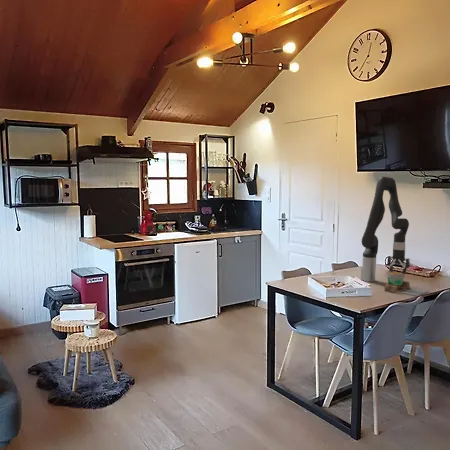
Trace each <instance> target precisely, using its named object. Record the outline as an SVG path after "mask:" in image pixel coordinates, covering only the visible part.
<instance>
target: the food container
mask: <svg viewBox="0 0 450 450" xmlns="http://www.w3.org/2000/svg"><path fill="white" fill-rule="evenodd" d="M386 278H387V284H388V285H394V286H397V291H401V290H403V287H402V285H403V281H404V279H405V274H403V272H402V273H401V274H389V273H387V275H386Z"/></svg>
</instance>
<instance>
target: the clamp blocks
mask: <svg viewBox="0 0 450 450" xmlns="http://www.w3.org/2000/svg"><path fill="white" fill-rule="evenodd" d="M410 286H411V284H410V281H406V280H403V285H402V289H409V288H410ZM410 289H411V288H410ZM384 292H387V293H393V294H396V293H397V292H398V290H397V286H394V285H388V283H387V284H384Z"/></svg>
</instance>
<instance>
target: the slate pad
mask: <svg viewBox="0 0 450 450" xmlns="http://www.w3.org/2000/svg"><path fill="white" fill-rule="evenodd" d="M427 293H429V290H423V289H417V288H414V287H413V288H410V289H407V290H404V291H402V292H401V295H402V294H404V295H407V296H411V297H419V296H423V295H424V294H427Z"/></svg>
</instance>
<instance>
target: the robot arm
mask: <svg viewBox="0 0 450 450" xmlns="http://www.w3.org/2000/svg"><path fill="white" fill-rule="evenodd" d="M397 189H398V188H397V183H396V180H395V179H394V178H393V177H388V176H380V177H379V178H378V180H377V182H376V186H375V192H374V197H373V201H372V204H371V208H370V213H369V216H368V220H367V223H366V227H365V230H364V233H363V236H362V238H361V245H362V247H363V248H365V250H364V251H363V252H362V265H361V266H360V267H361V268H360V281H363V280H364V281H363V282H366V283H367V282H368V283H369V282H370V283H372V282H373V283H374V282H376V272H377V271H376V269H377V254H378V252H379V239H378V236H377V235H376V231H377V230H378V228H379V226H380V224H381V223H382V221H383V219H384V216H385V212H386V206H385V203H384V197H383V196H384V192H385V191H386V192H388V193H389V201H388V209H389V212H390V215H391V227H392V228H393V229H394V230H399V231H398V232H395V233H394V235H393V245H392V255H388V256H387V265H388V266H389V271H390V273H393V272H394V265H395V264H396V265H401V266H402V267H403V268H402V273H403V274H404V275H405V274H406V273H407V269H408V268H409V269H410V267H411V266H410V263H411V261H410V260H411V259H410V258H406V257H405V256H406V235H407V232H408V230H409V227H410V222H409V219H407V218H399V217H402V216H403V210H402V207H401V205H400V202H399V196H398V190H397Z"/></svg>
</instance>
